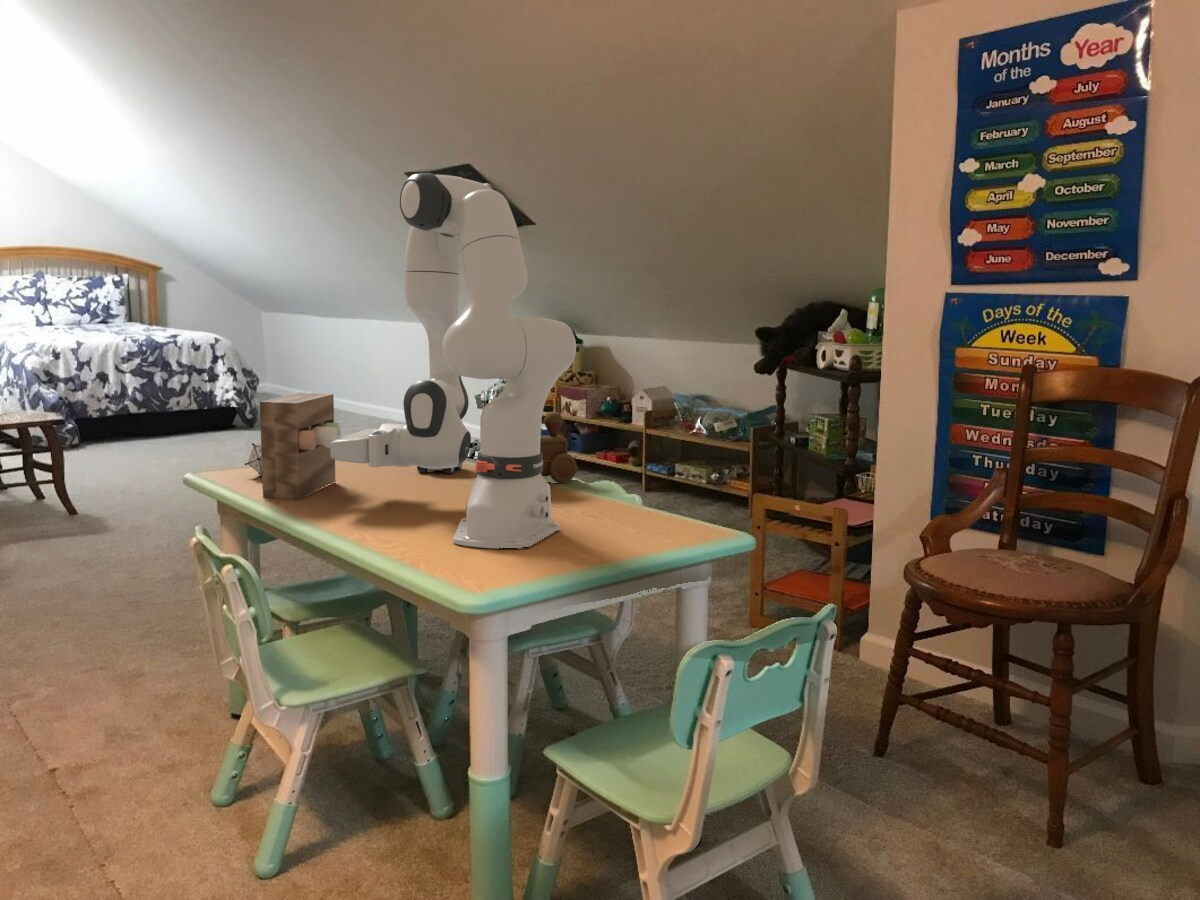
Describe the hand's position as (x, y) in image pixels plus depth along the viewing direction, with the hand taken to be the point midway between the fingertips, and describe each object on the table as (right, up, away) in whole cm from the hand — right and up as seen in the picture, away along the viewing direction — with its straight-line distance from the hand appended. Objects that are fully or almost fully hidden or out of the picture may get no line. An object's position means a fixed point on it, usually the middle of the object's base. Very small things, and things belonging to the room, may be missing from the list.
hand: (327, 442), depth 203 cm
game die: (-21, -8, +23) cm, 32 cm away
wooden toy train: (+41, -9, +24) cm, 48 cm away
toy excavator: (+18, -6, +37) cm, 42 cm away
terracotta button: (-6, -1, +2) cm, 7 cm away
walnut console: (-9, -10, +9) cm, 16 cm away
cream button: (-3, -1, +7) cm, 8 cm away
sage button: (-4, 0, +13) cm, 14 cm away
